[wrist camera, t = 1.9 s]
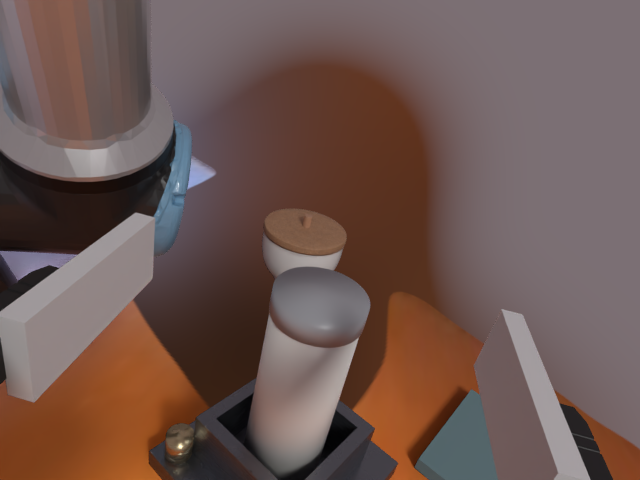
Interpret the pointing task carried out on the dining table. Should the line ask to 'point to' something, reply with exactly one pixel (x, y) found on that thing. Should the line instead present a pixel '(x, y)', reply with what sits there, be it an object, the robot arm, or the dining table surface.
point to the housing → (243, 467)
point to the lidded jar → (301, 241)
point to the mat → (461, 446)
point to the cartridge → (303, 367)
